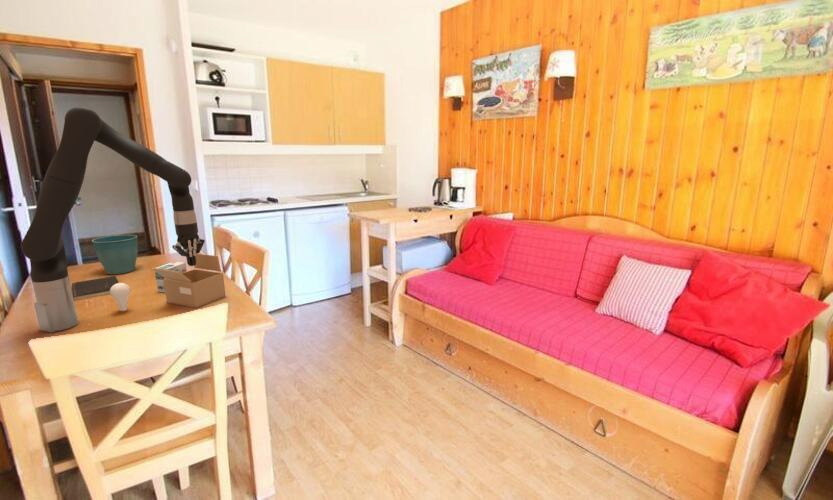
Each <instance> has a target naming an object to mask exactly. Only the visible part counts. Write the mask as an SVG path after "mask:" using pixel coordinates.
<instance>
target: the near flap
mask: <svg viewBox="0 0 833 500" xmlns="http://www.w3.org/2000/svg"><path fill="white" fill-rule="evenodd" d="M151 270H153V271H154V272H155V271H156V272H157V273H158V274H160V275H161V276H163V277H164V278H170V279H176V280H183V281H189V282H191V280H190V279H188V278H187V277H186V276H184V275H183V274H182V273H180V272H179V271H172V270H165V269H159V268H156V267H151Z"/></svg>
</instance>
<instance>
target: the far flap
mask: <svg viewBox="0 0 833 500" xmlns="http://www.w3.org/2000/svg"><path fill="white" fill-rule="evenodd" d="M195 257H196V265H194V269H198V270H205V271H212V272H222V270H221V264H220V259H219V256H218V255H213V254H211V255H210V254H205V253H197V254H196V256H195Z"/></svg>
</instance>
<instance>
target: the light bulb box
mask: <svg viewBox="0 0 833 500" xmlns="http://www.w3.org/2000/svg"><path fill="white" fill-rule="evenodd" d="M186 265H187V264H186V262H182V261H181V262H178V261H177V262H176V261H172V262H169V263H166V264H163V265H160V266H157V267H155V268H159V269H165V270H172V271H179V272H180V273H183V272H187V266H186ZM154 273H155V274H154V275H155V281H156V286H157V287H156V288H157V292H158V293H165V288H164V282H163V279H164V277H163V276H161V275H160V274H158V273H157V272H156V271H154Z"/></svg>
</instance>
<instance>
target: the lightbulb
mask: <svg viewBox="0 0 833 500" xmlns="http://www.w3.org/2000/svg"><path fill="white" fill-rule="evenodd" d="M130 294H131V287H130V286H129V285H128V284H126V283H123V282H119V283H117V284H115V285H113V286H112V287H111V289H110V294H109V295H110V296H111V297H112V298H113V300H115V302H116V305H117V306H118V308H119V309H118V310H119V311H120V312H126V311H127V310H128V301H129V300H128V298H129V296H130Z"/></svg>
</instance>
